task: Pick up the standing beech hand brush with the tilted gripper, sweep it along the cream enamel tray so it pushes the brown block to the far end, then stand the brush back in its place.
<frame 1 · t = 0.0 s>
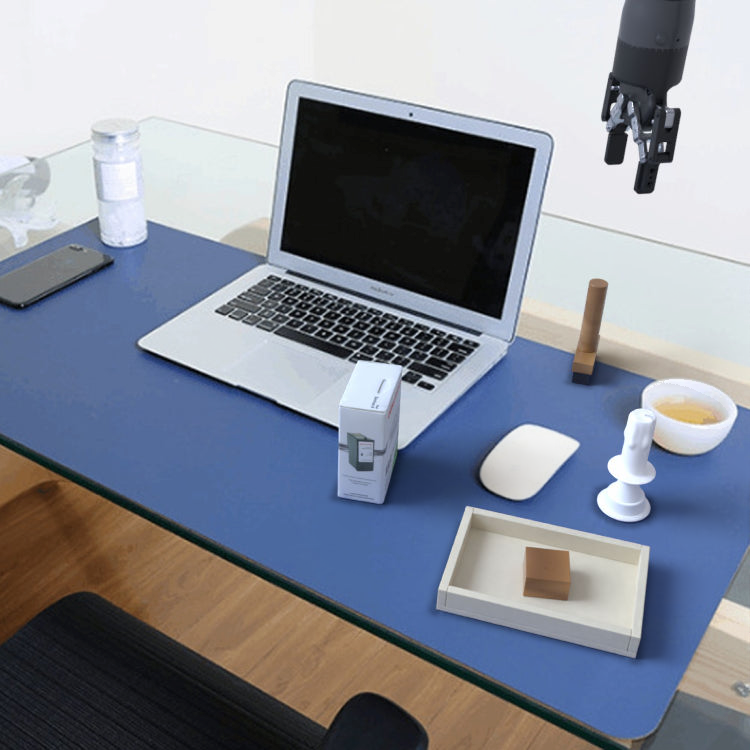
hand: (627, 177, 116), 22 cm above the table, tool pointing down, fingers open, 8 cm apart
candle: (623, 506, 102), on the table
ink box: (368, 476, 105), on the table
tray: (543, 587, 92), on the table
brown block: (544, 582, 92), point 1 cm above the table, touching tray
brush: (583, 368, 123), on the table
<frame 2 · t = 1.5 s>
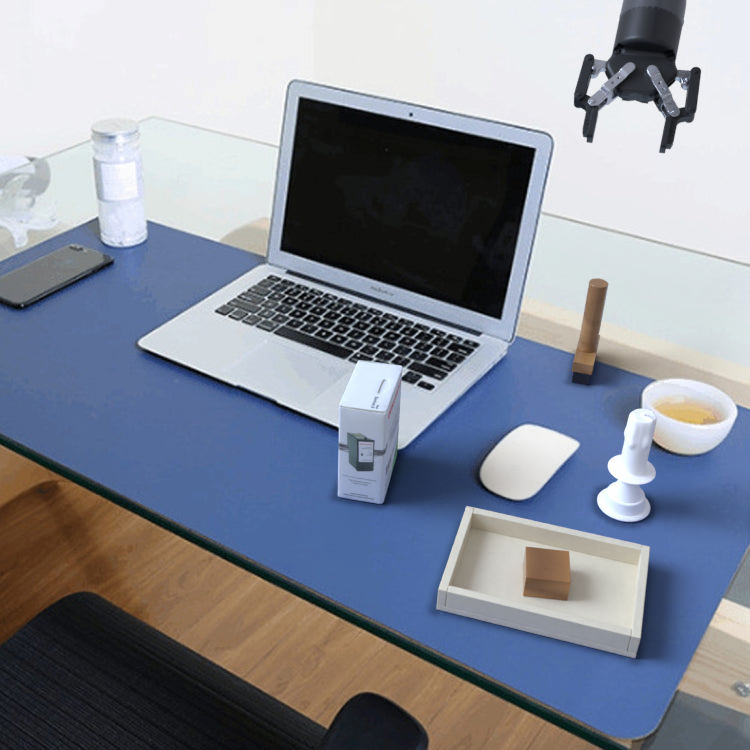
hand: (625, 145, 118), 24 cm above the table, tool tilted 45°, fingers open, 8 cm apart
nothing on the table moved.
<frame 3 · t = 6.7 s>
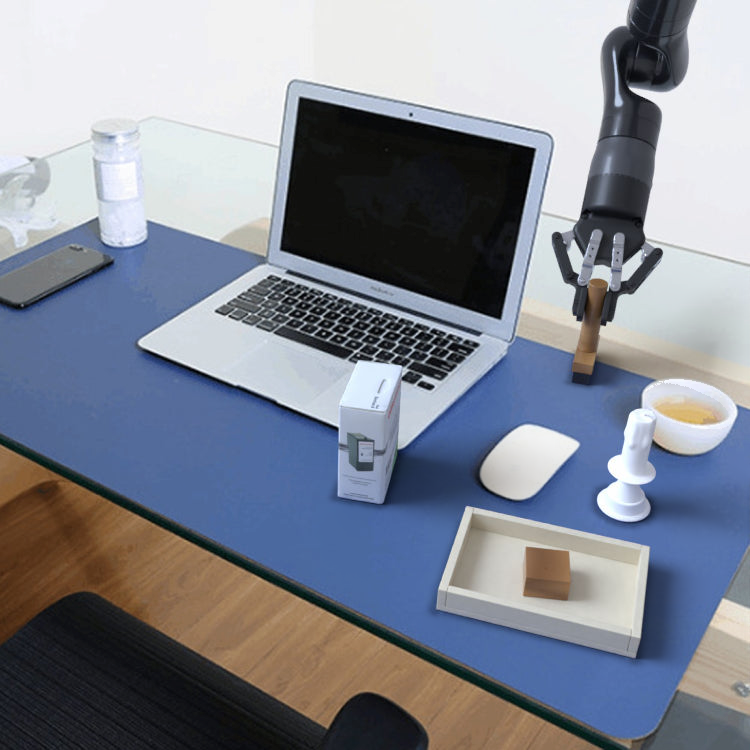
hand: (591, 321, 117), 8 cm above the table, tool tilted 45°, fingers closed on brush, 2 cm apart
brush: (583, 368, 123), on the table, touching gripper
everything else where it was.
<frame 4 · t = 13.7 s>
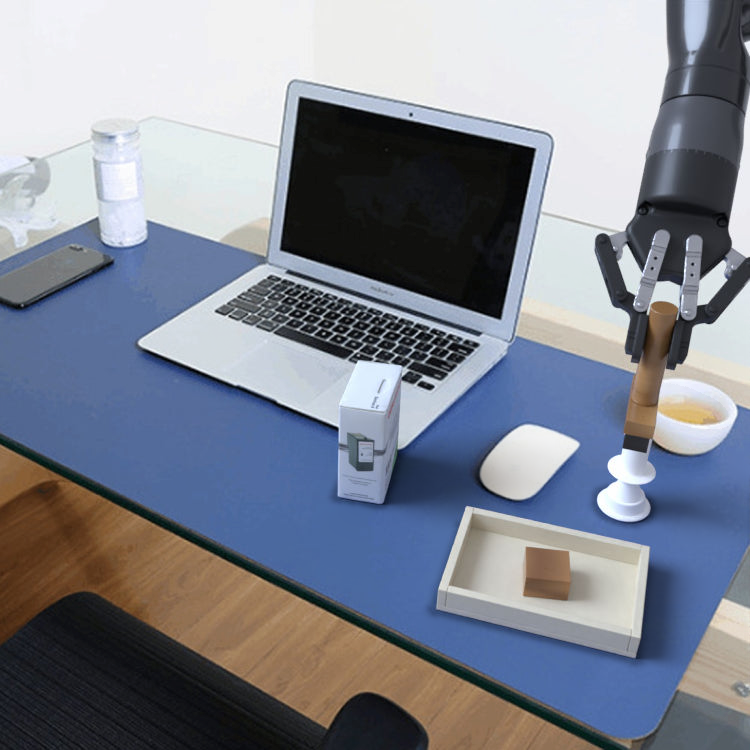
hand: (653, 363, 81), 24 cm above the table, tool tilted 45°, fingers closed on brush
brush: (637, 427, 87), point 16 cm above the table, touching gripper
everything else where it was.
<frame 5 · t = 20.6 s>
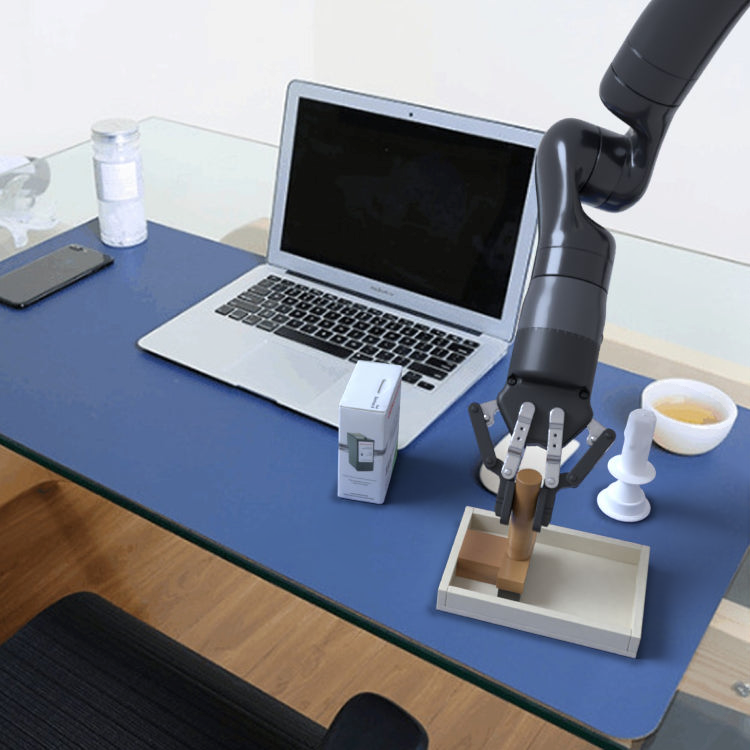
hand: (520, 527, 87), 9 cm above the table, tool tilted 45°, fingers closed on brush, 2 cm apart
brown block: (481, 566, 94), point 1 cm above the table, touching brush, tray
brush: (514, 576, 93), point 1 cm above the table, touching brown block, gripper, tray
everything else where it was.
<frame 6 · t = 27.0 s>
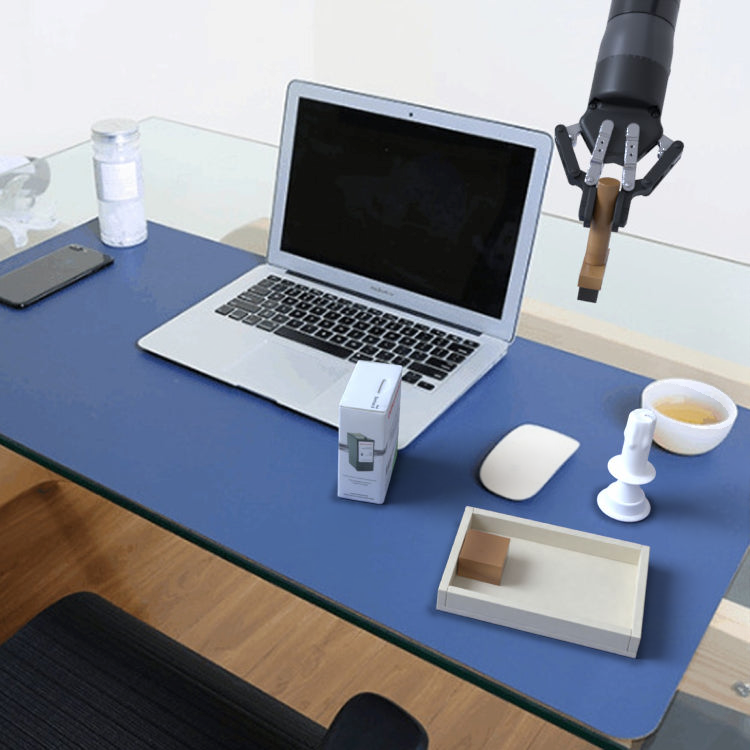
hand: (601, 226, 101), 24 cm above the table, tool tilted 45°, fingers closed on brush
brown block: (482, 566, 94), point 1 cm above the table, touching tray
brush: (590, 286, 107), point 16 cm above the table, touching gripper
everything else where it was.
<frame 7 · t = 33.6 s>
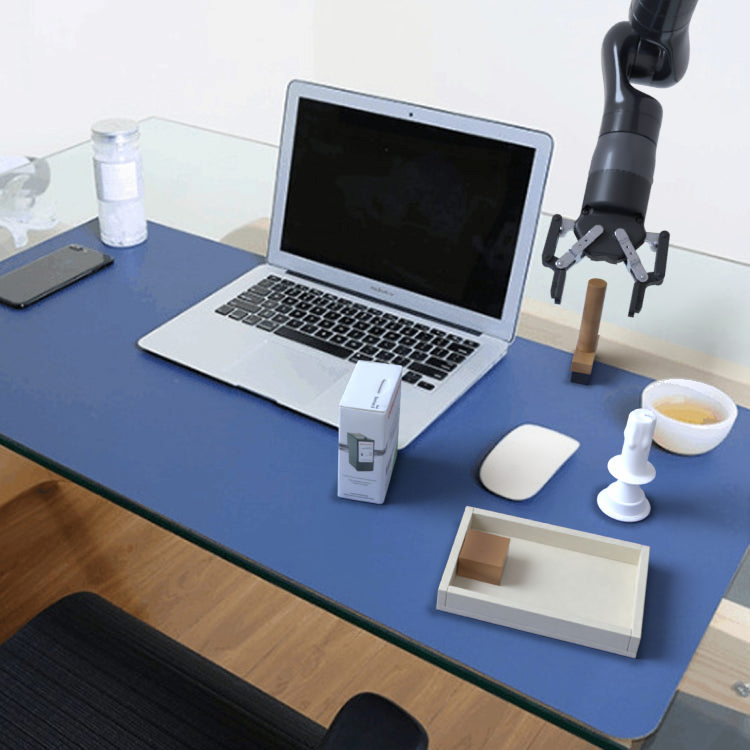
hand: (594, 309, 117), 9 cm above the table, tool tilted 45°, fingers open, 8 cm apart
brush: (582, 368, 123), on the table
everything else where it was.
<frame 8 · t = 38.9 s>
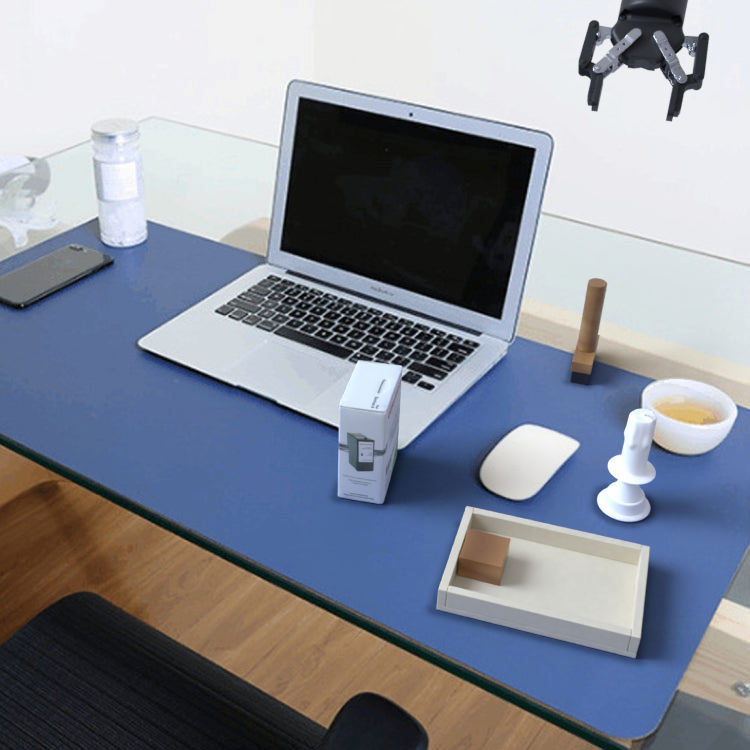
hand: (631, 113, 115), 29 cm above the table, tool tilted 45°, fingers open, 8 cm apart
nothing on the table moved.
at the end: brown block inside the target area in the tray (0.3 cm from its centre), point 0.6 cm above the tray's base; brush inside the target area (0.1 cm from its centre), on the table; brush tilted 0° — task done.
